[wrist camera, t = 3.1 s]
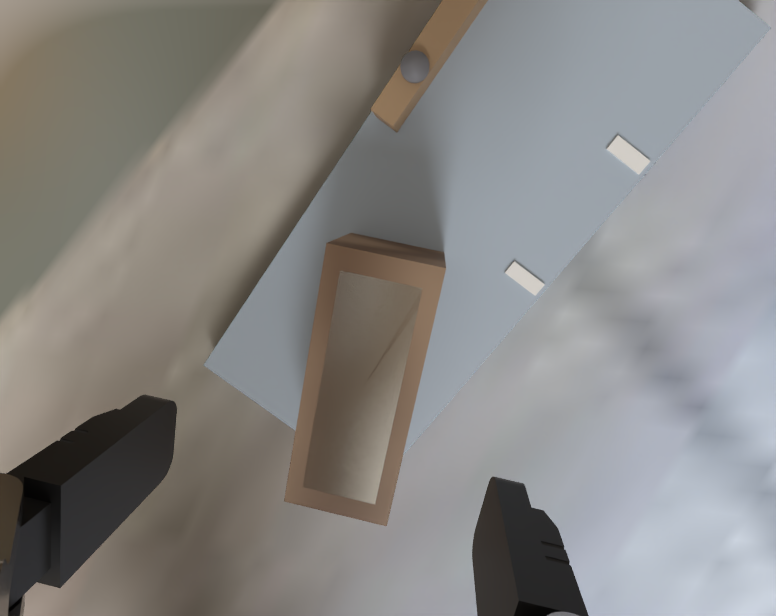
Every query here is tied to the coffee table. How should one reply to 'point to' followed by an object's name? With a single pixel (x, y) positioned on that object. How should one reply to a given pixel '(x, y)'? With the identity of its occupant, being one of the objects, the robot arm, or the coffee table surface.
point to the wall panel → (491, 170)
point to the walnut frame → (363, 374)
